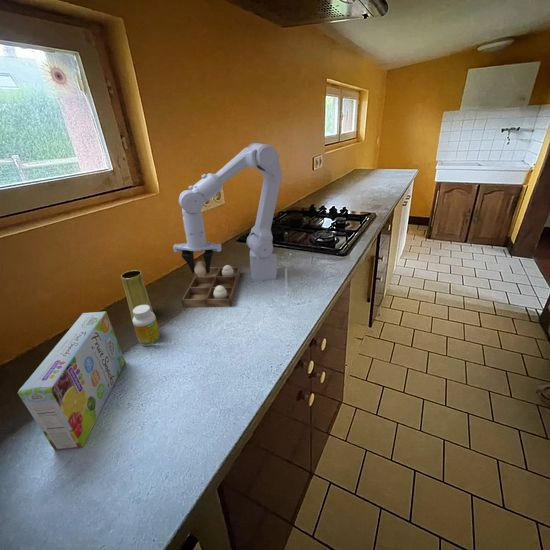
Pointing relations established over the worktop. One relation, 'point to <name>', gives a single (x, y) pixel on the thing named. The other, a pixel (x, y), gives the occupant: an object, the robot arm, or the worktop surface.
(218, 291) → the cream egg near
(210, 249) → the robot arm
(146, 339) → the supplement bottle
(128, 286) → the vase
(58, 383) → the snack box
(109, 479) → the worktop surface
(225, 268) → the cream egg far
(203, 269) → the beige egg
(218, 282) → the egg tray
